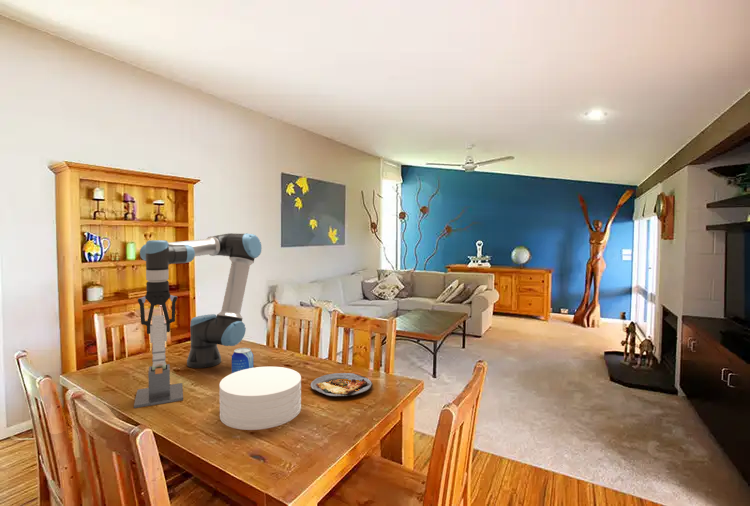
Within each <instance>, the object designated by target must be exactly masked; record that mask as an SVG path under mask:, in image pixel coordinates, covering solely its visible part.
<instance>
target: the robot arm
mask: <svg viewBox="0 0 750 506" xmlns="http://www.w3.org/2000/svg"><path fill="white" fill-rule="evenodd" d="M262 249H263V248H262V242H261V241H260V238H259V237H258V236H257V235H256V234H253V233H248V232H247V233H229V232H228V233H223V234H219V235H212V236H207V238H203V239H201V238H200V239H192V240H191V239H190V240H184V241H183V240H181V241H171V242H170V241H168V240H166V239H165V240H162V239H157V240H154V239H153V240H147V241H146V243H145V244H143V245H142V246H141V248H140V250H139V256H140V259H142V260H143V261H145V278H146V283H145V284H146V285H145V286H146V289H145V290H146V293H145V296H142V297H138V298H137V302H138V304H139V310H140V311H139V312H140V313H139V314H140V324H141V325H144V326H146V334H147V335H149V337H150V338H149V339H150V344H153V338H152V316H153V313H154V308H155V306H161V308H162V311H163V315H164V321H165V322H164V336H165V342H167V341H168V340H167V339H168V333H170V331H171V323H174V322H175V321H176V302H177V301H178V296H177V295H172V294H171V293H170V283H169V279H170V278H169V272H170V271H169V266H170V265H175V264H186V263H191V262H192V261H193V260H194V259H195V257H201V256H206V255H207V256H208V255H209V256H211V257H215V256H222V257H228V258H229V260H230V262H231V263H230V264H231V265H230V268H229V274H228V279H227V283H226V289H225V292H224V297H223V302H222V307H221V311H220V312H219V313H217V314H214V313H213V314H212V313H211V314H203V315H198V316H195V317H194V316H193V317H192V318H191V320H190V326H189V327H190V328H189V329H190V330H189V331H190V332H189V333H190V350H189V353H188V356H187V360H186V366H187V367H189V368H192V369H205V368H209V367H210V368H211V367H215V366H217V365H219V364H220V363H222V355H221V354H220V351H219V348H218V345H219V346H225V347H233V346H234V347H235V346H237V345H239V344H240V343H241V342H242V340H243V339H244V338H245V334H246V324H245V323H244V322H243V319H244V318H243V316H242V315H241V310H242V306H243V301H244V297H245V293H246V292H245V291H246V288H247V287H246V286H247V281H248V276H249V271H250V266H251V265H252V264H254V262H255V259H257V258H259V256H260V255H261V253H262ZM169 299H170V301H171V318H170V316H169V312H168V308H167V304H166V303H167V302H168V300H169ZM146 300H147V302H148V303H149V304H150V306H149V312H148V316H147V320H146V314H145V303H146Z"/></svg>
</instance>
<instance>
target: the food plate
mask: <svg viewBox="0 0 750 506" xmlns="http://www.w3.org/2000/svg"><path fill="white" fill-rule="evenodd" d="M337 379H348V380H351V382H350V383H349V382H348V384H347V383H346V381H345V382H344V380H343V381H342V380H337ZM331 380H332V381H331ZM356 380H359V381H361V382H357V381H356ZM329 381H331V382H329ZM326 382H329V383H326ZM332 383H333V384H332ZM334 384H336V385H339V386H343V387H344V386H347V387H346V388H348V389H346V388H342V387H339V386H335V385H334ZM310 387H311V389H312V390H314V391H317V392H318V393H321V394H324V395H326V396H329V397H335V398H336V397H344V398H345V397H350V396H357V395H359V394H362V393H364V392H368V391H369V390H370V389H371V387H373V382H372V381H371V380H370V379H369V378H368V377H365V376H362V375H360V374H355V373H351V372H339V373H338V372H336V373H330V374H328V373H327V374H325V375H321V376H320V377H319V376H318V377H317V378H315V379H314V380H312V381H311V383H310ZM358 389H360V390H359V391H355V390H358Z"/></svg>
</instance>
